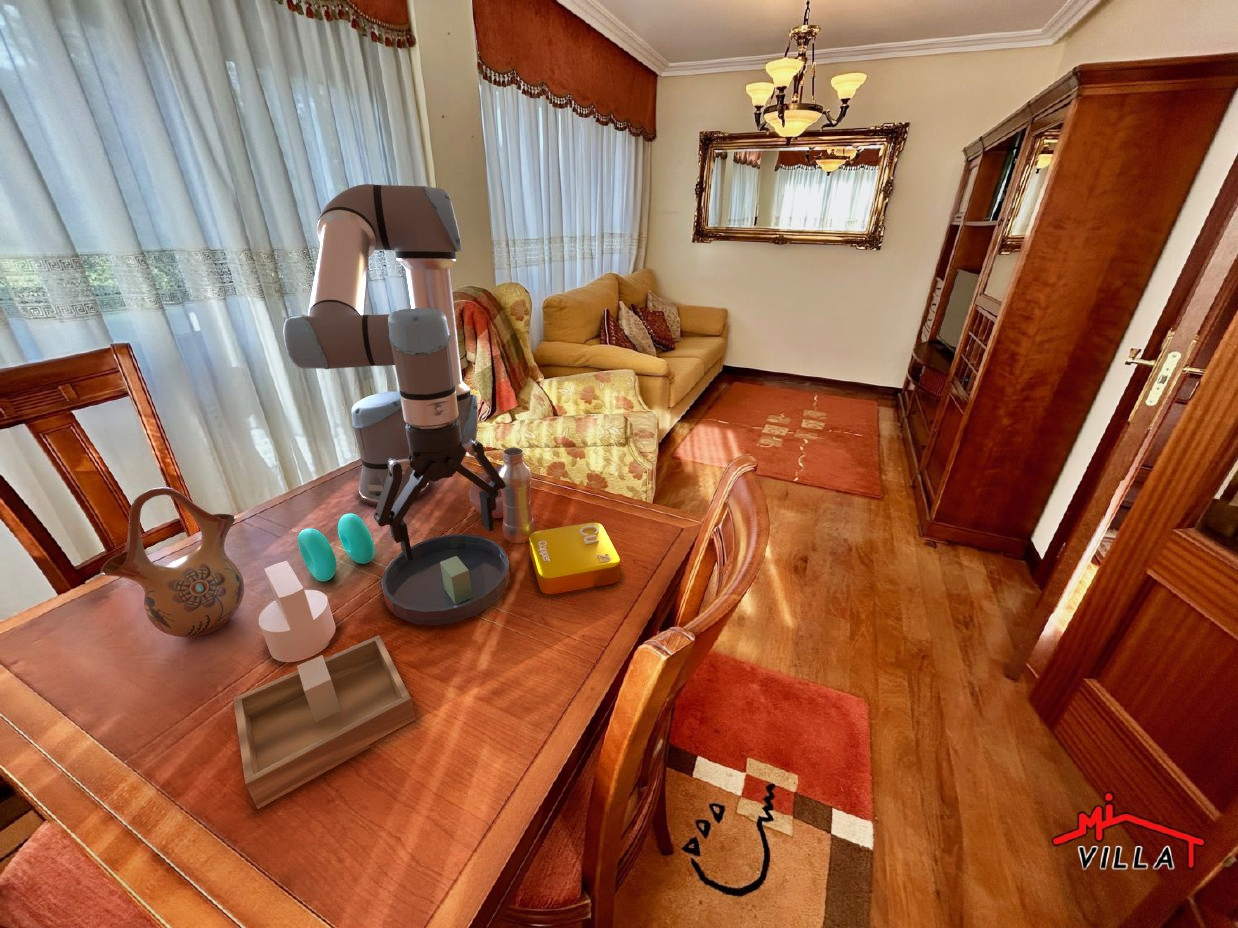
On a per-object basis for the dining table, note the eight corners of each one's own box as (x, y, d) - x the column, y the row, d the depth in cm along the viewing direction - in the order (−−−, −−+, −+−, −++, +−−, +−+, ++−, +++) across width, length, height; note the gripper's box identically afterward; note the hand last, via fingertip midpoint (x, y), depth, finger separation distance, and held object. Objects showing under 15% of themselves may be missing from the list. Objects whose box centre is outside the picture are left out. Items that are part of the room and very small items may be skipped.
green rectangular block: (444, 589, 88) (439, 561, 86) (460, 582, 90) (456, 555, 87) (455, 604, 85) (451, 577, 82) (472, 597, 87) (468, 570, 84)
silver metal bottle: (529, 550, 100) (523, 460, 91) (497, 545, 101) (489, 456, 92) (540, 532, 106) (536, 446, 97) (510, 527, 107) (503, 442, 98)
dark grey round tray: (369, 576, 92) (365, 561, 90) (479, 536, 104) (477, 522, 102) (408, 648, 77) (405, 631, 75) (531, 591, 89) (530, 576, 88)
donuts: (381, 568, 94) (371, 523, 89) (325, 594, 87) (311, 547, 83) (358, 545, 100) (348, 503, 95) (303, 568, 93) (289, 523, 89)
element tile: (528, 549, 100) (527, 529, 98) (600, 537, 105) (600, 518, 103) (541, 598, 88) (540, 576, 86) (622, 583, 92) (623, 562, 90)
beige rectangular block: (308, 696, 68) (296, 665, 65) (332, 685, 70) (322, 654, 67) (315, 723, 65) (304, 691, 62) (341, 710, 66) (330, 679, 64)
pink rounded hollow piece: (460, 514, 111) (454, 468, 106) (504, 495, 119) (500, 451, 114) (493, 535, 104) (489, 488, 99) (537, 513, 112) (535, 468, 107)
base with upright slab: (344, 640, 78) (327, 579, 73) (278, 672, 72) (254, 609, 67) (325, 610, 84) (308, 551, 78) (263, 637, 78) (239, 576, 73)
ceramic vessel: (248, 586, 88) (199, 459, 77) (279, 603, 85) (233, 473, 74) (133, 649, 75) (54, 507, 64) (165, 673, 72) (87, 527, 60)
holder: (244, 721, 65) (233, 697, 63) (384, 657, 75) (379, 634, 73) (257, 809, 56) (245, 784, 54) (416, 721, 66) (411, 698, 64)
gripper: (345, 449, 63) (376, 582, 72) (521, 410, 77) (528, 526, 87) (331, 430, 68) (362, 557, 78) (498, 398, 83) (507, 508, 92)
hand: (449, 541), depth 82 cm, fingers open, 13 cm apart
